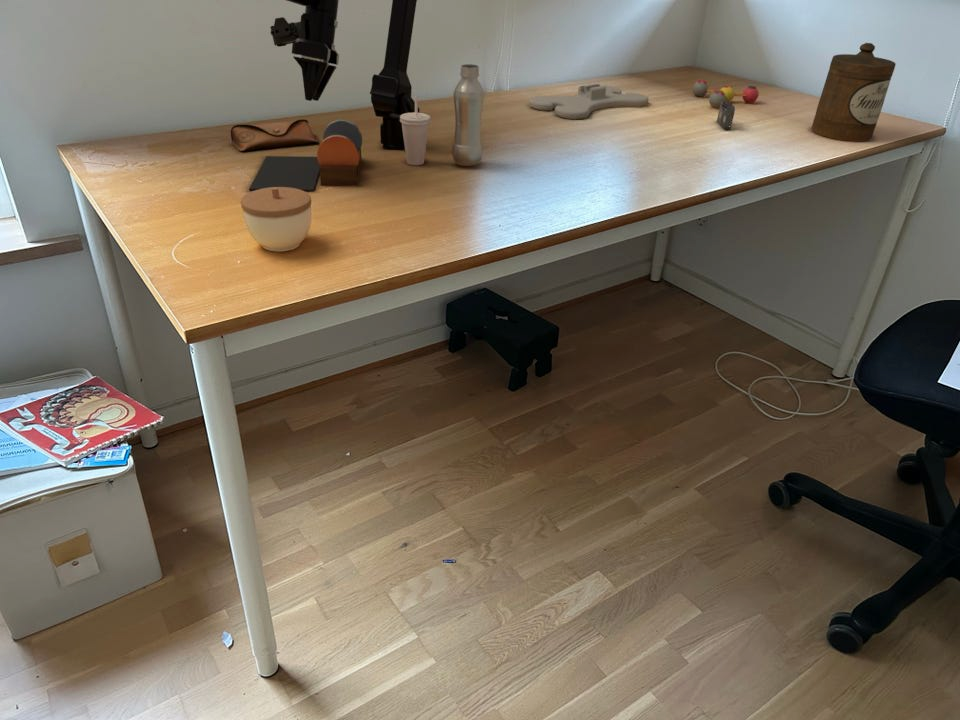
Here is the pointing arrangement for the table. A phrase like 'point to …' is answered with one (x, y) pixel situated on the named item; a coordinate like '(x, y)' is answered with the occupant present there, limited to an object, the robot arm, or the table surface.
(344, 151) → the terracotta coaster
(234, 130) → the sunglasses case
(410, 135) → the smoothie
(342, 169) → the coaster rack
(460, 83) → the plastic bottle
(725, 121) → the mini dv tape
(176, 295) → the table surface
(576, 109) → the holder
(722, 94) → the molecule model
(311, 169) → the grey mat
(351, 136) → the blue-grey coaster
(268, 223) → the trinket box
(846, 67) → the wooden container
